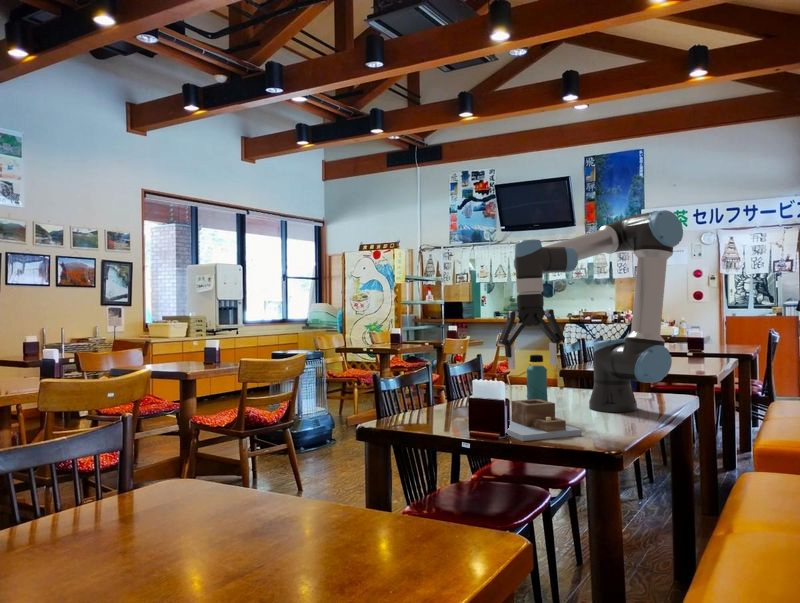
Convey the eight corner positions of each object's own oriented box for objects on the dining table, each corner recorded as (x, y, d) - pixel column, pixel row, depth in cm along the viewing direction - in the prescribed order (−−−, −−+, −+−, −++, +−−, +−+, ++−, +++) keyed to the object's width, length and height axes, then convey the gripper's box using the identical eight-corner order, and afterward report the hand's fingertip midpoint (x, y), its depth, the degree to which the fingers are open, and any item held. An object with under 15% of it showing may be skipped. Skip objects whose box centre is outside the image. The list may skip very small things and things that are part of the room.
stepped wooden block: (511, 421, 180) (511, 400, 180) (538, 419, 182) (538, 398, 182) (541, 432, 164) (540, 409, 164) (570, 429, 167) (570, 407, 167)
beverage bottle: (547, 417, 193) (545, 353, 193) (550, 421, 186) (548, 355, 186) (525, 417, 193) (524, 354, 193) (528, 421, 187) (526, 355, 187)
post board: (544, 422, 184) (543, 401, 184) (581, 435, 166) (580, 411, 166) (490, 427, 179) (489, 405, 179) (522, 441, 161) (521, 416, 161)
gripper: (560, 292, 184) (563, 362, 184) (485, 295, 177) (488, 368, 177) (574, 291, 177) (577, 365, 177) (496, 294, 170) (499, 371, 170)
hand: (532, 367), depth 177 cm, fingers open, 13 cm apart
